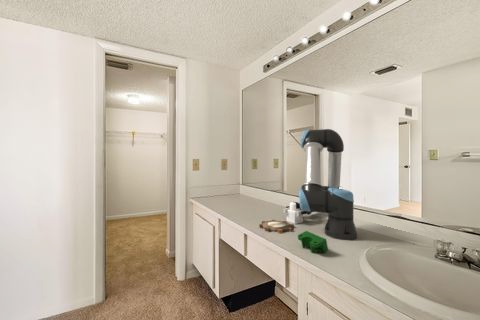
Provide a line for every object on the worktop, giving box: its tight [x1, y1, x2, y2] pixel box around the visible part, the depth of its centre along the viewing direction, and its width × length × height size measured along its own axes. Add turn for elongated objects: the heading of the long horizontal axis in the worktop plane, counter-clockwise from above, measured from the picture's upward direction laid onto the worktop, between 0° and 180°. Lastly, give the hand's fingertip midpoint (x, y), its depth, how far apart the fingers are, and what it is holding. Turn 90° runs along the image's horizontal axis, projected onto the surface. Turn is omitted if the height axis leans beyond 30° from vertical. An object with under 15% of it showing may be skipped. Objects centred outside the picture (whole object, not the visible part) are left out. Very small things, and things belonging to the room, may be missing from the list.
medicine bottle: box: [286, 201, 304, 225], centre depth 129 cm, size 7×7×12 cm
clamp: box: [297, 230, 329, 254], centre depth 88 cm, size 12×6×9 cm, turn 20°
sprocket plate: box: [258, 219, 295, 234], centre depth 118 cm, size 19×19×2 cm
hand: (290, 212), depth 125 cm, fingers closed on medicine bottle, 9 cm apart
